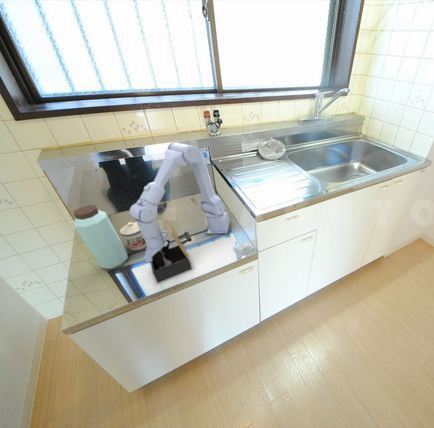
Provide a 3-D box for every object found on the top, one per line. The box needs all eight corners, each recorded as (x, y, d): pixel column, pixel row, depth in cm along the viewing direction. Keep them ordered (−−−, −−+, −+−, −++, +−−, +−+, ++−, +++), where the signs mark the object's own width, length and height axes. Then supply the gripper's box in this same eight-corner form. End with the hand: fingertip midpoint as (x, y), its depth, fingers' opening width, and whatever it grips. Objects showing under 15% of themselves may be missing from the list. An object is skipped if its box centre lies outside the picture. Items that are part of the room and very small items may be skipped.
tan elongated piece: (170, 233, 79) (184, 226, 81) (165, 219, 86) (177, 213, 88) (187, 258, 87) (198, 251, 89) (180, 243, 94) (191, 237, 96)
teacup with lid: (127, 253, 98) (115, 232, 92) (128, 241, 105) (118, 220, 98) (158, 245, 102) (149, 224, 96) (158, 233, 109) (149, 213, 103)
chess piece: (160, 264, 92) (151, 245, 86) (172, 261, 93) (164, 242, 88) (159, 272, 88) (151, 253, 83) (172, 268, 90) (164, 249, 84)
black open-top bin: (157, 283, 85) (152, 272, 82) (153, 266, 92) (148, 255, 89) (191, 268, 91) (188, 258, 87) (185, 253, 98) (181, 243, 95)
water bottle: (108, 274, 88) (74, 221, 75) (96, 264, 93) (61, 212, 79) (134, 258, 96) (107, 207, 82) (121, 250, 100) (94, 200, 86)
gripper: (154, 247, 76) (166, 275, 83) (171, 221, 88) (181, 248, 95) (132, 248, 76) (147, 276, 83) (152, 222, 88) (163, 249, 95)
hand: (164, 261), depth 89 cm, fingers open, 4 cm apart
